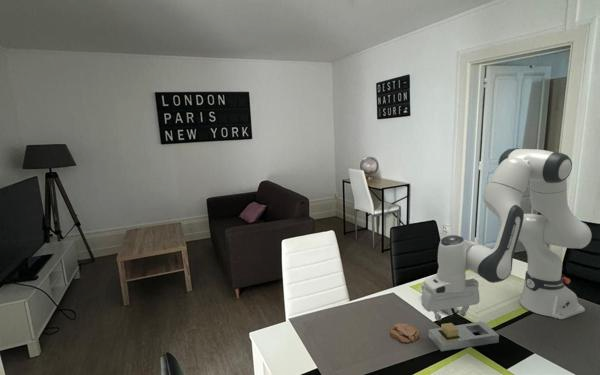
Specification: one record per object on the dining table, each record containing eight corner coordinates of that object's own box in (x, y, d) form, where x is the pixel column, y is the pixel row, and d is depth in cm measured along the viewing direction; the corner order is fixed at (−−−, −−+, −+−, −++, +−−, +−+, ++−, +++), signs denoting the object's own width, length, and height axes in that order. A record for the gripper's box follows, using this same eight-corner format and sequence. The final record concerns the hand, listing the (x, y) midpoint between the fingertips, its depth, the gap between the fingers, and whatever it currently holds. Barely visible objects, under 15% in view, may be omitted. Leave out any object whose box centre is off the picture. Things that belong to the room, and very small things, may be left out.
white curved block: (460, 312, 131) (454, 293, 128) (451, 318, 130) (445, 299, 127) (432, 293, 146) (426, 276, 144) (424, 298, 145) (418, 281, 143)
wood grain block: (450, 337, 116) (451, 322, 115) (457, 344, 112) (458, 329, 111) (440, 338, 115) (441, 324, 114) (447, 346, 111) (447, 330, 110)
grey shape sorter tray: (482, 328, 120) (482, 321, 119) (498, 342, 112) (499, 334, 111) (428, 336, 117) (428, 329, 116) (441, 351, 109) (441, 343, 108)
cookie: (424, 341, 115) (424, 334, 114) (397, 346, 113) (397, 338, 113) (411, 325, 124) (411, 318, 124) (385, 329, 123) (385, 322, 122)
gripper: (472, 274, 114) (471, 308, 117) (419, 281, 112) (419, 316, 114) (484, 282, 108) (483, 318, 111) (428, 290, 106) (428, 327, 108)
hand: (450, 317), depth 113 cm, fingers open, 8 cm apart
